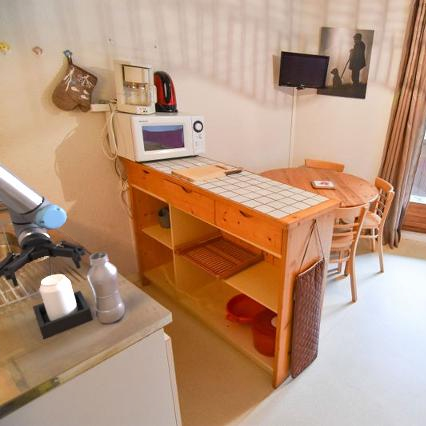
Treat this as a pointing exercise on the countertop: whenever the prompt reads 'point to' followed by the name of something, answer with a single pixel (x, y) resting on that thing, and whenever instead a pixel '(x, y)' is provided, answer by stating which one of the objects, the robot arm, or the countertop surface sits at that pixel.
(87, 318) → the black tray
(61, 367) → the countertop surface
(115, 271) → the plastic bottle
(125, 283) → the countertop surface
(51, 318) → the beverage can
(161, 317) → the countertop surface
